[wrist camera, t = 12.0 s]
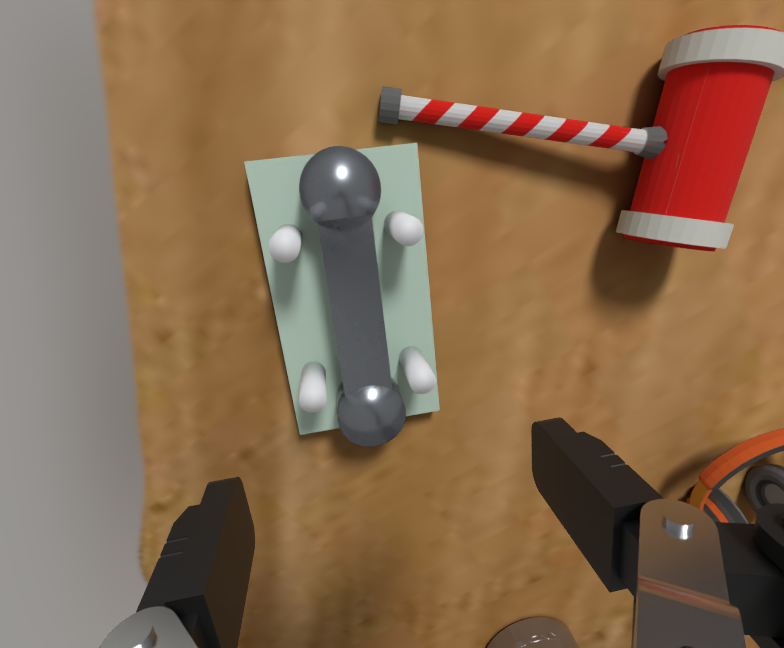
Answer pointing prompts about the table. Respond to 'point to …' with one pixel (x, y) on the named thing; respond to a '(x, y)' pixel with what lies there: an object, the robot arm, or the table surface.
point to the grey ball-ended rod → (354, 291)
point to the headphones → (760, 481)
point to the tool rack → (310, 291)
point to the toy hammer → (659, 132)
